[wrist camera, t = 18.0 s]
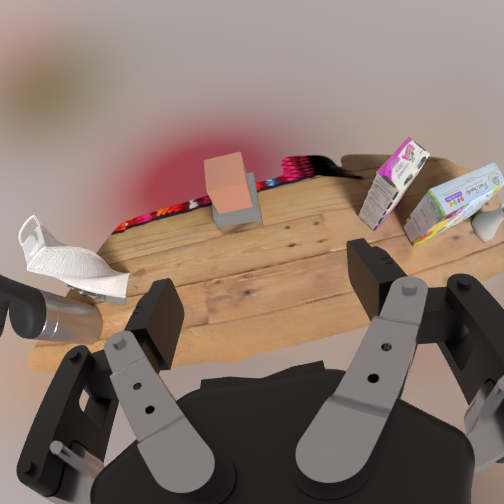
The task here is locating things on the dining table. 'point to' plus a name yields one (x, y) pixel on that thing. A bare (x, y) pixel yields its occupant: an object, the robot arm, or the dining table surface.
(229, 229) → the walnut block
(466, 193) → the snack box
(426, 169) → the dining table surface
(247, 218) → the gray block
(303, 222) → the dining table surface
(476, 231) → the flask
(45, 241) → the twisted tower model
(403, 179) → the candy bar box
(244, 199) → the salmon orange block
